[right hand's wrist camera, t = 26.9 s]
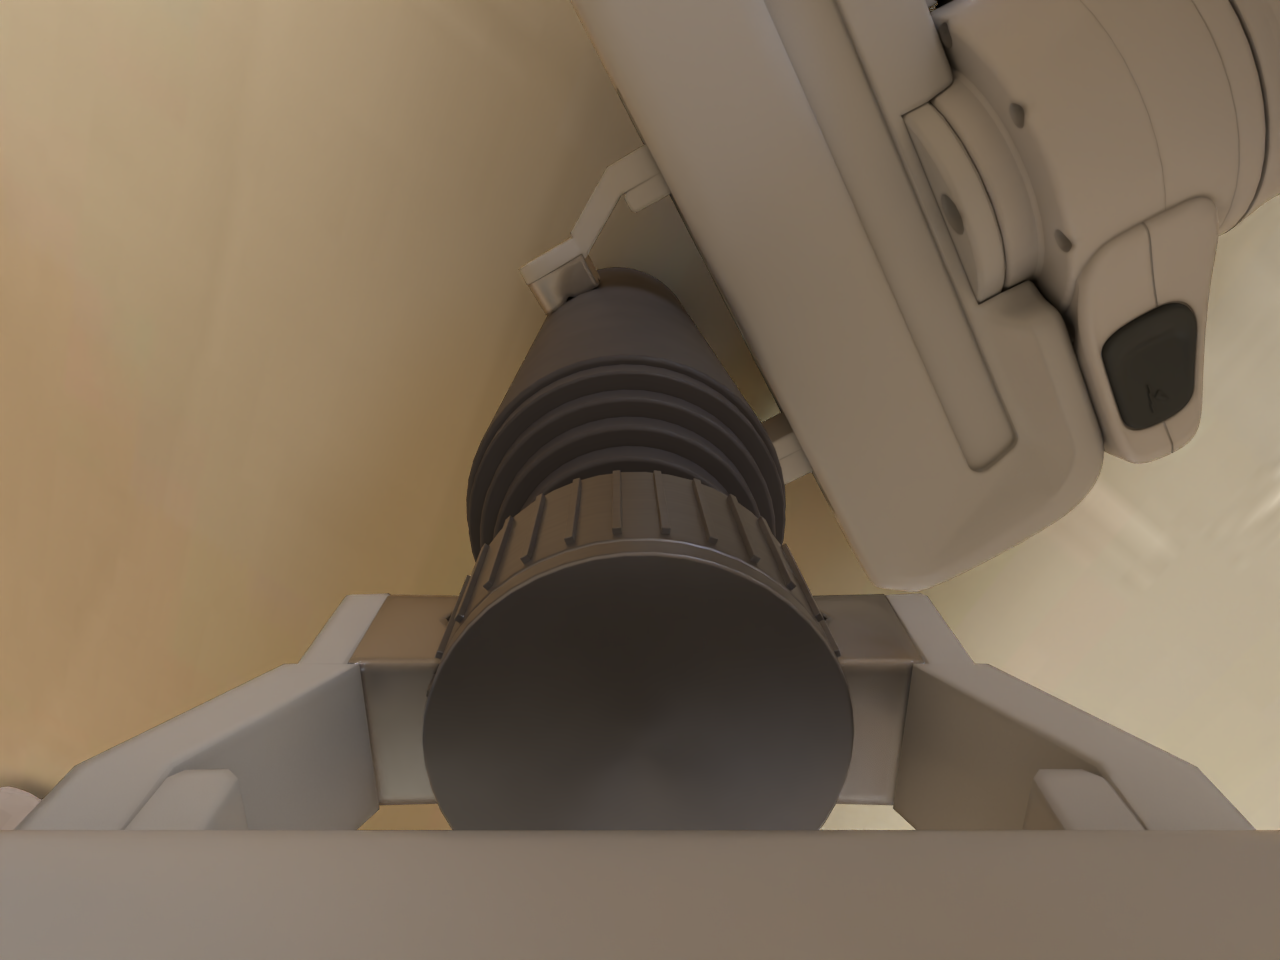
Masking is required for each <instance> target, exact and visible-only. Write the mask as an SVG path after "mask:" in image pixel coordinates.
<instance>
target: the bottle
mask: <svg viewBox="0 0 1280 960" xmlns="http://www.w3.org/2000/svg"><path fill="white" fill-rule="evenodd" d="M597 272H598V274H599V276H600V278H601V280H600V282H599V286H597V287H595V288H594V289H592V290H590V291H588V292H585V293H583V294H580V295H578V296H576V297H569V298H568V299H567V301H566V303H565V304H564V305H562V306H561V307H560V308H558V309H557V310H555V311H553V312H551V313H549V314H548V316H547V318H546V320H545V322H544V324H543V325H542V327H541V329H540V331H539V333H538V335H537V337H536V339H535V341H534V342H533V344H532V346H531V348H530V350H529V352H528V354H527V356H526V358H525V359H524V361H523V363H522V365H521V367H520V369H519V371H518V373H517V375H516V377H515V378H514V380H513V382H512V384H511V386H510V388H509V390H508V392H507V394H506V395H505V397H504V399H503V401H502V403H501V405H500V407H499V409H498V411H497V413H496V414H495V416H494V418H493V420H492V422H491V424H490V426H489V428H488V430H487V431H486V433H485V435H484V437H483V439H482V441H481V443H480V446H479V448H478V451H477V453H476V455H475V458H474V460H473V464H472V468H471V472H470V476H469V480H468V489H467V499H466V501H467V521H468V527H469V536H470V542H471V547H472V553H473V556H474V559H475V562H476V561H477V558H478V556H479V553H480V551H481V548H482V547H483V545H484V544H487V545H490V543H491V542H492V541H493V539H494V538H495V537H496V535H497V534H498V533H499V531H500V530H501V529H502V528H503V526H504V523H505V520H506V519H507V518H508V517H509V516H512V517H514V516H515V515H517V514H518V513H519V512H521V511H522V510H523V509H525V508H526V507H527V506H529V505H530V504H531V503H533V502H534V501H535V500H536V497H537V496H538V495H540V494H542V493H543V494H544V496H545V495H547V494H548V493H550V492H552V491H554V490H556V489H558V488H561V487H563V486H566V485H568V484H571V483H573V480H574V479H577V478H580V479H581V480H583V479H587V478H591V477H594V476H598V475H605V474H613V471H616V470H620V472H650V473H653V472H654V470H656V471H661V474H668V475H673V476H677V477H681V478H685V479H689V480H693V478H695V479H698V480H700V481H701V484H703V485H706V486H708V487H711V488H714V489H716V490H717V491H719V492H721V493H723V494H725V495H727V496H729V494H732V495H734V496H735V497H736V498H737V501H738V503H739V504H741V505H742V506H744V507H745V508H746V509H748V510H749V511H750V512H752V513H753V514H754V515H755V516H756V517H757V518H759V517H760V516H762V517H763V518H764V519H765V520H766V522H767V524H768V526H769V528H770V530H771V532H772V534H773V535H774V537H775V538H776V539H777V541H778V542H779V543H780V545H781V546H782V543H783V539H784V529H785V508H786V502H785V485H784V479H783V474H782V468H781V465H780V462H779V459H778V456H777V453H776V450H775V447H774V445H773V443H772V441H771V439H770V437H769V435H768V433H767V431H766V430H765V428H764V427H763V425H762V424H761V422H760V421H759V419H758V418H757V416H756V415H755V413H754V412H753V410H752V409H751V407H750V406H749V404H748V403H747V401H746V400H745V398H744V397H743V395H742V394H741V393H740V391H739V390H738V388H737V387H736V385H735V384H734V382H733V381H732V379H731V378H730V376H729V375H728V373H727V372H726V370H725V369H724V367H723V366H722V364H721V363H720V361H719V360H718V358H717V357H716V355H715V354H714V352H713V351H712V349H711V348H710V346H709V345H708V343H707V342H706V340H705V339H704V338H703V336H702V335H701V333H700V332H699V330H698V329H697V327H696V326H695V324H694V323H693V321H692V320H691V318H690V317H689V315H688V314H687V312H686V311H685V309H684V308H683V306H682V305H681V303H680V302H679V300H678V299H677V297H676V296H675V295H674V294H673V293H672V291H671V290H670V289H669V288H668V287H667V286H665V285H664V284H663V283H662V282H660V281H659V280H657V279H656V278H654V277H653V276H650V275H648V274H646V273H644V272H641V271H638V270H634V269H629V268H605V269H601V270H597Z"/></svg>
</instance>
